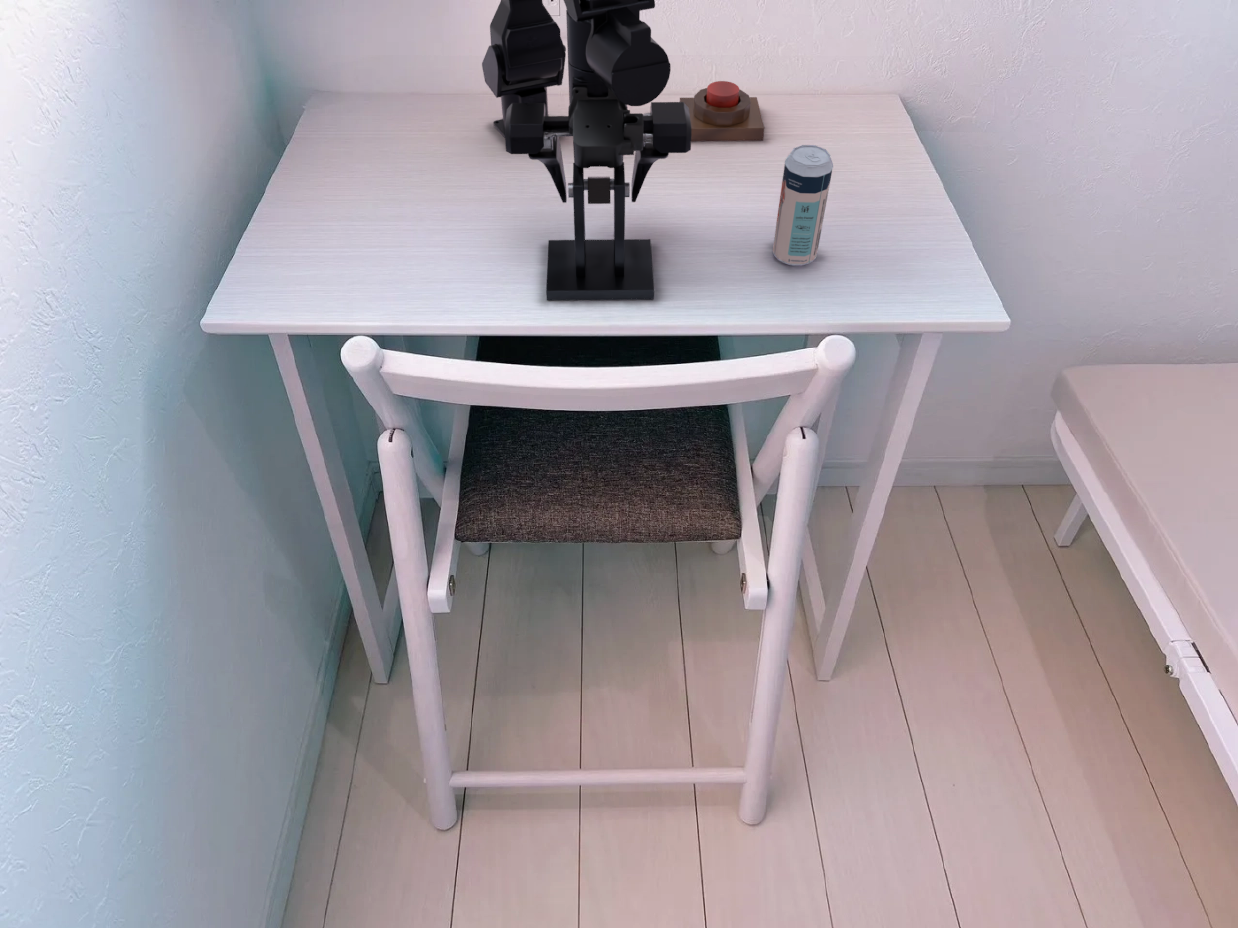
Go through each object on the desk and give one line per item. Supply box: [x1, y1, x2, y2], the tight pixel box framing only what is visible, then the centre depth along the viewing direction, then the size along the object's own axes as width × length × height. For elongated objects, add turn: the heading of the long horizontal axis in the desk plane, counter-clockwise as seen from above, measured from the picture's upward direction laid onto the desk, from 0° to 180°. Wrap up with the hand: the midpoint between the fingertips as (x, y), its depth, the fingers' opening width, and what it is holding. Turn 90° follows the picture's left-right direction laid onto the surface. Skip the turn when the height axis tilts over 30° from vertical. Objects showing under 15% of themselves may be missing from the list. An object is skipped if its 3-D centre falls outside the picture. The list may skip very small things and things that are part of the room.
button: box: [706, 80, 740, 108], centre depth 122 cm, size 4×4×2 cm
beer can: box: [772, 144, 834, 267], centre depth 101 cm, size 5×5×12 cm
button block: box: [679, 87, 765, 142], centre depth 124 cm, size 10×8×4 cm
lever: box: [584, 176, 614, 205], centre depth 100 cm, size 11×5×2 cm, turn 1°
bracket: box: [545, 161, 655, 301], centre depth 99 cm, size 9×11×12 cm
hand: (599, 200), depth 106 cm, fingers open, 7 cm apart
